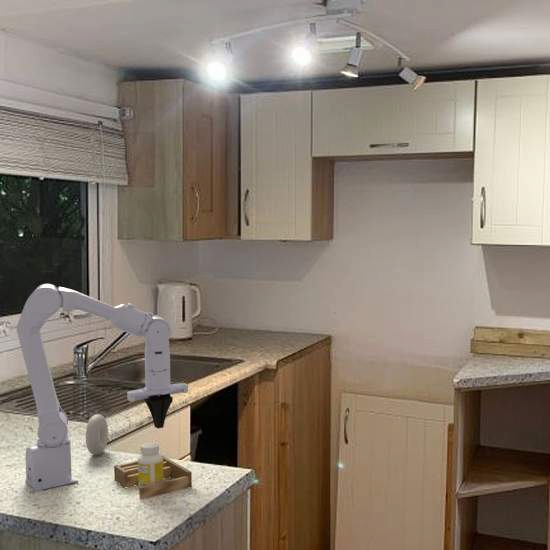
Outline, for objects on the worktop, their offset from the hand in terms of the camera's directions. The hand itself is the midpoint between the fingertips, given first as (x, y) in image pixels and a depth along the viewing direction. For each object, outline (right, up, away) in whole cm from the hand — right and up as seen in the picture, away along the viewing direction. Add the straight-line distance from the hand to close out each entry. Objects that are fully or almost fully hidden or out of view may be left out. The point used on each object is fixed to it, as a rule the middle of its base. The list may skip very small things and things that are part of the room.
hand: (158, 427), depth 173 cm
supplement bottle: (0, -12, -11) cm, 16 cm away
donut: (-17, -10, +14) cm, 24 cm away
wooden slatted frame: (0, -11, -7) cm, 13 cm away
